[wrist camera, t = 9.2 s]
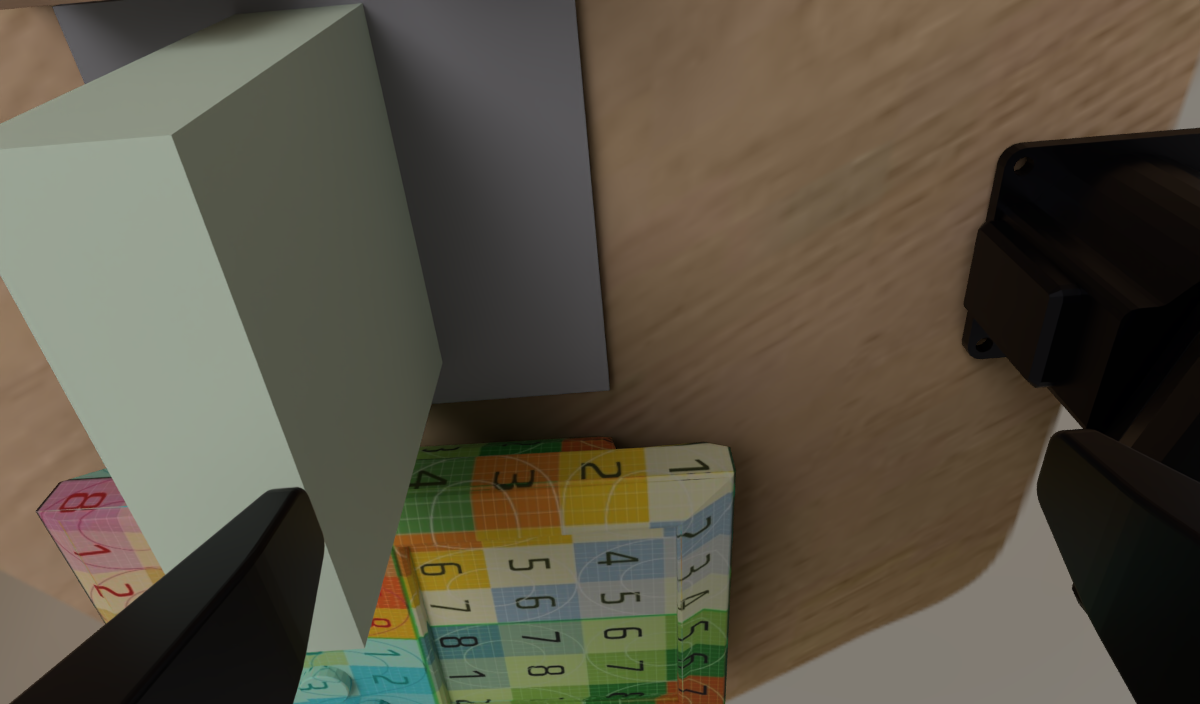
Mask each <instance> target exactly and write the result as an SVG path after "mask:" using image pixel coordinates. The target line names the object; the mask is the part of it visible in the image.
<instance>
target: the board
mask: <svg viewBox="0 0 1200 704" xmlns="http://www.w3.org/2000/svg"><path fill="white" fill-rule="evenodd" d="M0 275H1V277H2V279H3V281H4V283H5V284H6V286H7V288H8V290H9V292H10V293H11V295H12V297H13V299H14V301H15V303H16V304H17V306H18V308H19V310H20V312H21V313H22V315H23V317H24V319H25V321H26V323H27V324H28V326H29V328H30V330H31V332H32V333H33V335H34V337H35V339H36V341H37V343H38V344H39V346H40V348H41V350H42V352H43V353H44V355H45V357H46V359H47V361H48V363H49V364H50V366H51V368H52V370H53V372H54V373H55V375H56V377H57V379H58V381H59V383H60V384H61V386H62V388H63V390H64V392H65V393H66V395H67V397H68V399H69V401H70V403H71V404H72V406H73V408H74V410H75V412H76V413H77V415H78V417H79V419H80V421H81V423H82V424H83V426H84V428H85V430H86V432H87V433H88V435H89V437H90V439H91V441H92V443H93V444H94V446H95V448H96V450H97V452H98V453H99V455H100V457H101V459H102V461H103V463H104V464H105V466H106V468H107V470H108V472H109V473H110V475H111V477H112V479H113V481H114V483H115V484H116V486H117V488H118V490H119V492H120V493H121V495H122V497H123V499H124V501H125V503H126V504H127V506H128V508H129V510H130V512H131V513H132V515H133V517H134V519H135V521H136V523H137V524H138V526H139V528H140V530H141V532H142V533H143V535H144V537H145V539H146V541H147V543H148V544H149V546H150V548H151V550H152V552H153V553H154V555H155V557H156V559H157V561H158V563H159V564H160V566H161V568H162V570H163V572H164V573H165V574H167V573H168V572H169V571H170V570H172V569H173V568H174V567H175V566H176V565H178V564H179V563H180V562H181V561H182V560H184V559H185V558H186V557H187V556H188V555H190V554H191V553H192V552H193V551H194V550H196V549H197V548H198V547H199V546H200V545H202V544H203V543H204V542H205V541H207V540H208V539H209V538H210V537H211V536H213V535H214V534H215V533H216V532H217V531H219V530H220V529H221V528H222V527H223V526H225V525H226V524H227V523H228V522H229V521H231V520H232V519H233V518H234V517H236V516H237V515H238V514H239V513H240V512H242V511H243V510H244V509H245V508H246V507H248V506H249V505H250V504H251V503H252V502H254V501H255V500H256V499H257V498H258V497H260V496H261V495H262V494H263V493H265V492H266V491H268V490H271V489H277V488H290V487H300V488H302V489H304V490H305V491H306V492H307V494H308V496H309V498H310V501H311V503H312V506H313V509H314V511H315V514H316V516H317V519H318V522H319V524H320V527H321V530H322V532H323V536H324V543H325V551H324V558H323V564H322V569H321V575H320V580H319V586H318V591H317V597H316V603H315V608H314V614H313V619H312V625H311V630H310V636H309V642H308V647H307V652H319V651H334V650H349V649H364V648H365V646H366V642H367V638H368V635H369V631H370V627H371V624H372V620H373V616H374V613H375V609H376V605H377V602H378V598H379V594H380V591H381V587H382V583H383V579H384V576H385V572H386V568H387V565H388V561H389V557H390V554H391V550H392V546H393V543H394V539H395V535H396V532H397V528H398V524H399V521H400V517H401V513H402V510H403V506H404V502H405V499H406V495H407V491H408V488H409V484H410V480H411V477H412V473H413V469H414V466H415V462H416V458H417V455H418V451H419V447H420V444H421V440H422V436H423V433H424V429H425V425H426V422H427V418H428V414H429V411H430V407H431V403H432V400H433V396H434V392H435V389H436V385H437V381H438V378H439V374H440V370H441V367H442V363H443V362H442V358H441V353H440V349H439V344H438V340H437V335H436V331H435V326H434V322H433V317H432V313H431V308H430V304H429V299H428V295H427V290H426V286H425V282H424V277H423V273H422V268H421V264H420V259H419V255H418V250H417V246H416V241H415V237H414V232H413V228H412V223H411V219H410V214H409V210H408V205H407V201H406V196H405V192H404V187H403V183H402V178H401V174H400V169H399V165H398V160H397V156H396V151H395V147H394V142H393V138H392V134H391V129H390V125H389V120H388V116H387V111H386V107H385V102H384V98H383V93H382V89H381V84H380V80H379V75H378V71H377V66H376V62H375V57H374V53H373V48H372V44H371V39H370V35H369V30H368V26H367V21H366V17H365V12H364V8H363V3H359V4H348V5H336V6H325V7H314V8H302V9H291V10H279V11H268V12H256V13H245V14H234V15H232V16H230V17H228V18H226V19H224V20H222V21H220V22H217V23H215V24H213V25H211V26H209V27H207V28H205V29H202V30H200V31H198V32H196V33H194V34H192V35H190V36H187V37H185V38H183V39H181V40H179V41H177V42H175V43H172V44H170V45H168V46H166V47H164V48H162V49H160V50H157V51H155V52H153V53H151V54H149V55H147V56H145V57H142V58H140V59H138V60H136V61H134V62H132V63H130V64H128V65H125V66H123V67H121V68H119V69H117V70H115V71H113V72H110V73H108V74H106V75H104V76H102V77H100V78H98V79H95V80H93V81H91V82H89V83H87V84H85V85H83V86H80V87H78V88H76V89H74V90H72V91H70V92H68V93H65V94H63V95H61V96H59V97H57V98H55V99H53V100H51V101H48V102H46V103H44V104H42V105H40V106H38V107H36V108H33V109H31V110H29V111H27V112H25V113H23V114H21V115H18V116H16V117H14V118H12V119H10V120H8V121H6V122H3V123H1V124H0Z"/></svg>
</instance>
